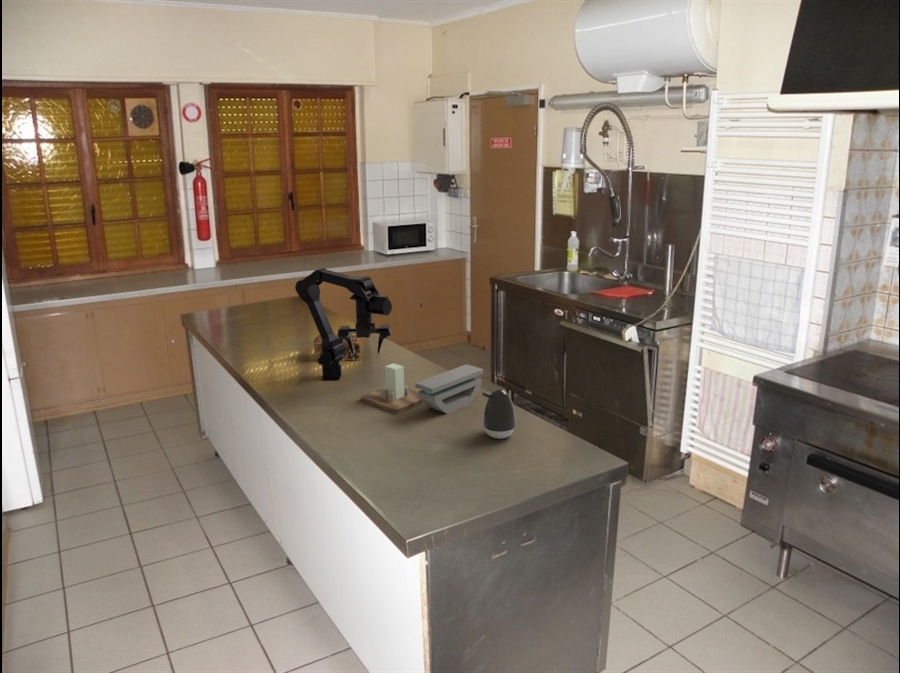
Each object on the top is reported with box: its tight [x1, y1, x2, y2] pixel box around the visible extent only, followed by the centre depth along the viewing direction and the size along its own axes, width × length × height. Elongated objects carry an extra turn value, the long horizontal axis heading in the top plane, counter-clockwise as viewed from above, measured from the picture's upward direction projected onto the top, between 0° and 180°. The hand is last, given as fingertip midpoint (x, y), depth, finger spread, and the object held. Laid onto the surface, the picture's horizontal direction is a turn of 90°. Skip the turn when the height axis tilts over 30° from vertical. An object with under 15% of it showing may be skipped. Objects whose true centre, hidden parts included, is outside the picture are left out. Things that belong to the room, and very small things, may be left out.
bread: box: [313, 333, 362, 362], centre depth 284 cm, size 19×11×10 cm, turn 94°
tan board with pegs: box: [360, 385, 424, 415], centre depth 241 cm, size 16×18×4 cm
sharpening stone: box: [414, 363, 484, 415], centre depth 235 cm, size 25×8×11 cm, turn 137°
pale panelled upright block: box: [384, 362, 405, 400], centre depth 239 cm, size 4×6×11 cm
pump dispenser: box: [481, 388, 517, 440], centre depth 212 cm, size 10×10×15 cm
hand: (365, 353), depth 253 cm, fingers open, 9 cm apart
